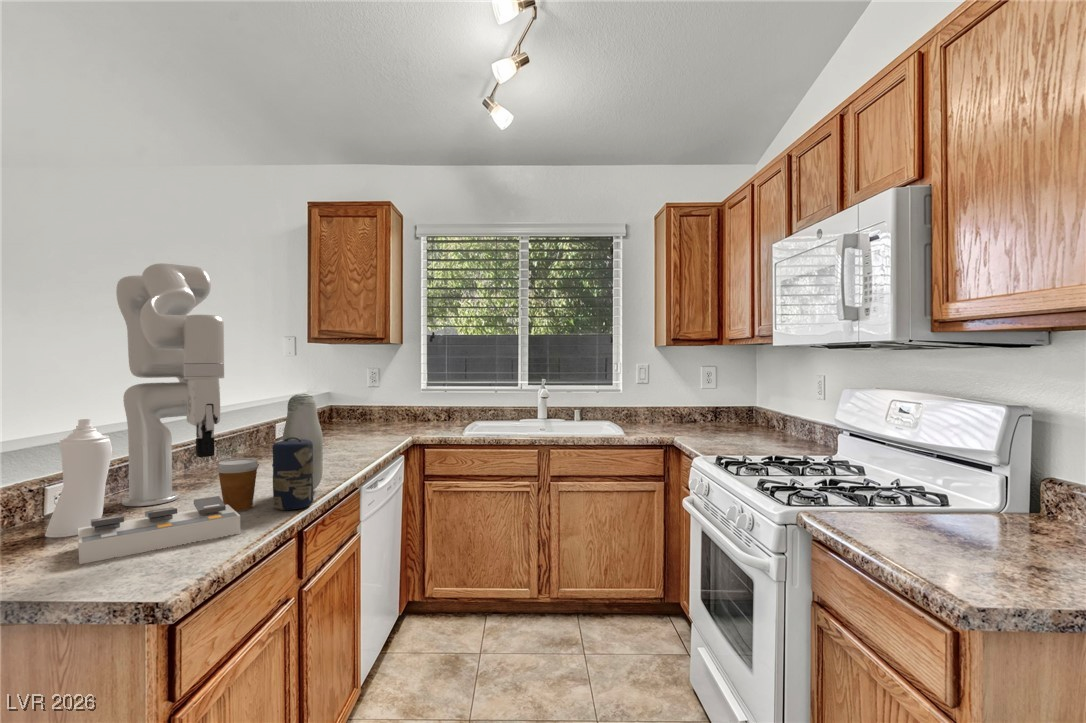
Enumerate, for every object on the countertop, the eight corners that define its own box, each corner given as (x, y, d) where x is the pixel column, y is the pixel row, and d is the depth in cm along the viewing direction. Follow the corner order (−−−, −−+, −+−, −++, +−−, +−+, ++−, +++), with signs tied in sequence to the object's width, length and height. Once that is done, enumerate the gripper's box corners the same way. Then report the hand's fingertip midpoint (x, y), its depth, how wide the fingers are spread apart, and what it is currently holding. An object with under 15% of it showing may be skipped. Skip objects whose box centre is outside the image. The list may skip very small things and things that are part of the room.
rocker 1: (90, 524, 114) (90, 519, 114) (121, 519, 117) (121, 514, 117) (91, 527, 108) (91, 521, 108) (124, 521, 112) (123, 516, 112)
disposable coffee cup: (207, 511, 139) (207, 463, 139) (241, 502, 148) (240, 457, 148) (235, 515, 136) (234, 466, 136) (267, 505, 145) (267, 459, 145)
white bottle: (109, 520, 132) (108, 415, 132) (116, 530, 124) (114, 418, 124) (43, 531, 124) (42, 419, 124) (46, 542, 116) (45, 423, 116)
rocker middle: (144, 516, 119) (144, 510, 120) (172, 511, 123) (172, 506, 123) (148, 518, 114) (148, 512, 114) (177, 513, 117) (177, 508, 118)
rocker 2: (193, 503, 125) (193, 499, 125) (219, 500, 129) (219, 495, 129) (199, 514, 120) (199, 509, 120) (225, 510, 123) (225, 505, 123)
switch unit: (78, 547, 113) (77, 524, 113) (228, 521, 131) (227, 501, 131) (79, 564, 104) (78, 539, 104) (240, 533, 122) (240, 512, 122)
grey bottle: (296, 487, 164) (295, 392, 164) (329, 488, 163) (328, 392, 162) (276, 496, 154) (274, 395, 154) (310, 497, 153) (309, 395, 153)
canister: (287, 514, 137) (287, 441, 136) (265, 508, 142) (264, 438, 141) (321, 505, 145) (321, 436, 144) (299, 500, 150) (298, 433, 150)
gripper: (178, 371, 124) (179, 453, 125) (190, 373, 113) (191, 463, 113) (216, 370, 129) (217, 450, 129) (232, 372, 118) (232, 458, 118)
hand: (205, 456), depth 121 cm, fingers closed
